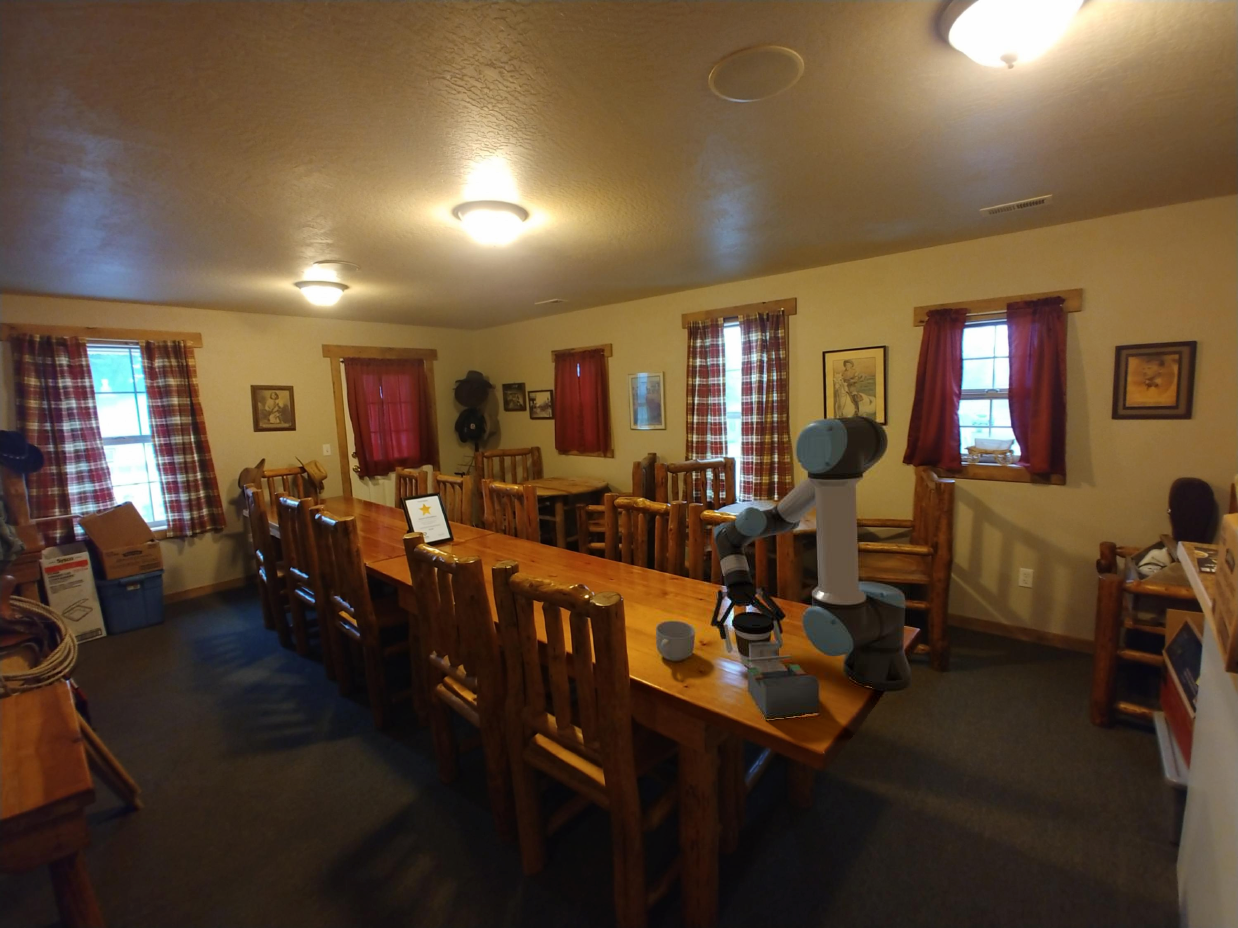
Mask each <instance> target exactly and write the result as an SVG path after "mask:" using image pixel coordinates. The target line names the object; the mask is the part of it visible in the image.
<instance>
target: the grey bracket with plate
mask: <svg viewBox="0 0 1238 928" xmlns="http://www.w3.org/2000/svg"><path fill="white" fill-rule="evenodd" d="M784 659H792V656H791V654H785V655H780V648H779V642H778V641H776V640H770V641H768V642H757V643H749V659H746V661H747V662H749V667H748V668H754V667H756V668H757V669H758V670H759V672H760V673H761V675H762V676H763V679H771V678H781V677H788V668H786V666H785V665H784V664H783V662H781V660H784Z"/></svg>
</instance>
